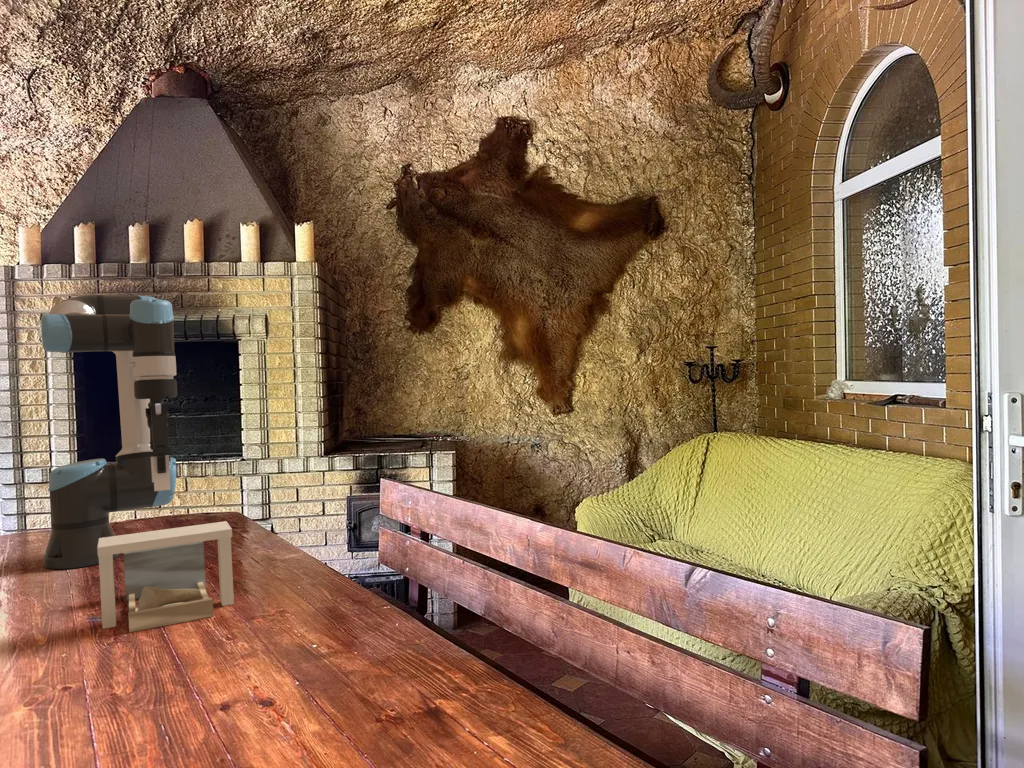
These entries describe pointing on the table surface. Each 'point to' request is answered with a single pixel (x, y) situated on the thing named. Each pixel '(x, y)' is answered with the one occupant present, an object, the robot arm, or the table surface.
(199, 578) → the rock display tray
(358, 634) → the table surface
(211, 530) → the shelf
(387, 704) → the table surface
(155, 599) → the stone
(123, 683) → the table surface
